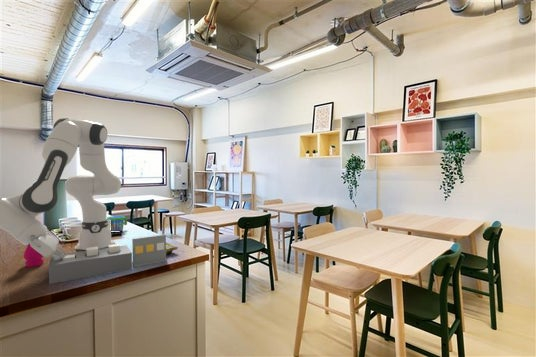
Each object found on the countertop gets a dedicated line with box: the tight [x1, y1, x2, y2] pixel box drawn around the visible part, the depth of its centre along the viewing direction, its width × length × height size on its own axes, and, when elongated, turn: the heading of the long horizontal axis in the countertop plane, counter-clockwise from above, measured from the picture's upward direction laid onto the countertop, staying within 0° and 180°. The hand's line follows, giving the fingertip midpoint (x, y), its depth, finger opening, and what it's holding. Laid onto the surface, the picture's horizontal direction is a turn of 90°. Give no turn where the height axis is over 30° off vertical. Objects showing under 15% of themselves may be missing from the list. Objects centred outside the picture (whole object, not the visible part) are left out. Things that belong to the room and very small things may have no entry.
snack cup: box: [107, 215, 128, 232], centre depth 188 cm, size 16×10×10 cm
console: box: [48, 244, 133, 285], centre depth 118 cm, size 14×28×7 cm, turn 124°
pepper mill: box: [23, 244, 45, 268], centre depth 125 cm, size 7×7×20 cm
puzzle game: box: [166, 242, 178, 255], centre depth 144 cm, size 12×5×20 cm
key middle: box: [85, 247, 98, 256], centre depth 118 cm, size 4×4×4 cm
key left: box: [63, 254, 75, 260], centre depth 113 cm, size 4×4×4 cm
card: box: [132, 234, 168, 268], centre depth 128 cm, size 5×14×12 cm, turn 124°
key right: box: [107, 243, 121, 253], centre depth 122 cm, size 4×4×4 cm
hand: (64, 256), depth 112 cm, fingers closed, pressing on key left
